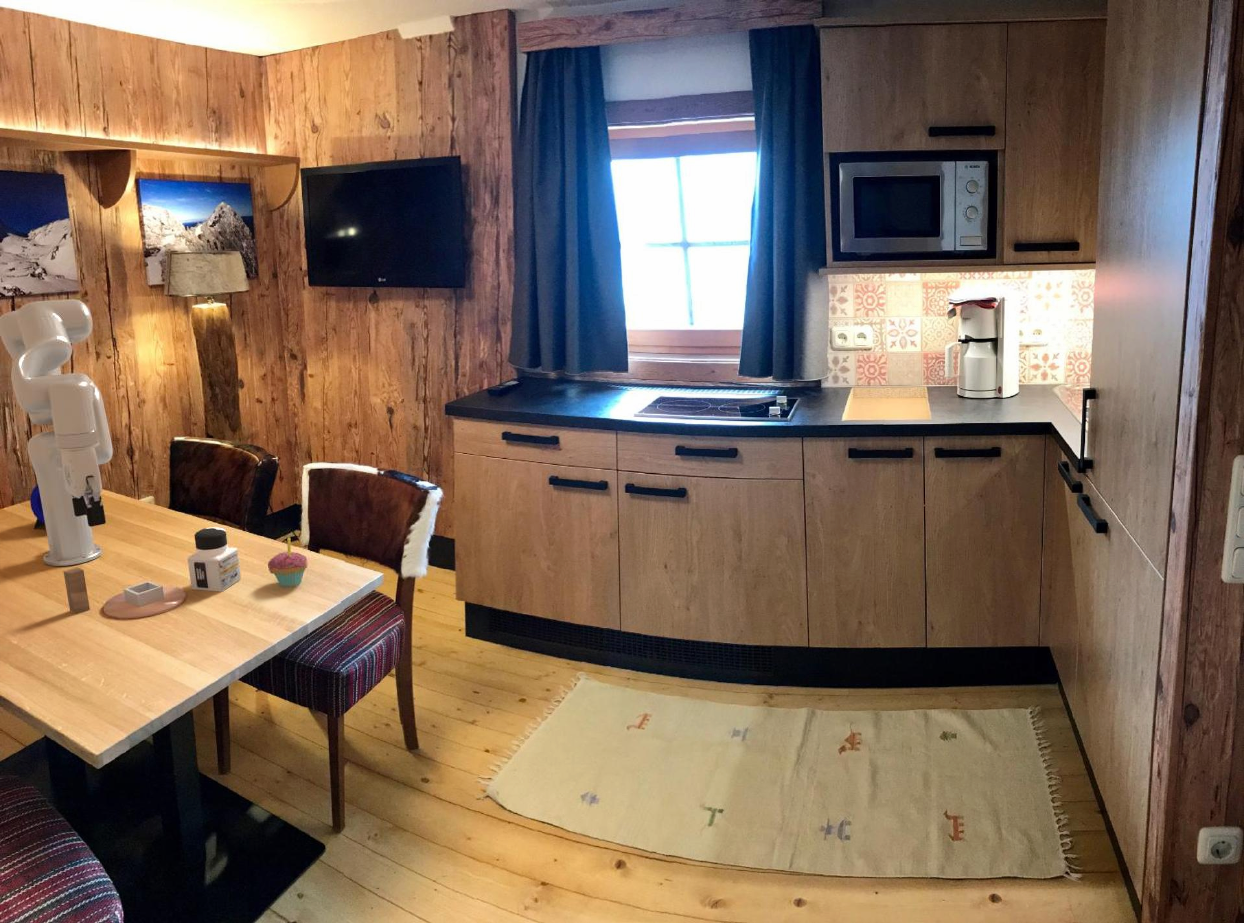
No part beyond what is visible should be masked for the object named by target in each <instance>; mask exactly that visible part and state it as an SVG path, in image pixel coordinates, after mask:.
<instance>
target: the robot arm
mask: <svg viewBox="0 0 1244 923" xmlns="http://www.w3.org/2000/svg"><path fill="white" fill-rule="evenodd" d="M93 326H94V325H93V317H92V312H91V310H90V309H89V308H88V306H87V305H86V304H85V303H84V302H83V301H81V300H80V299H75V298H69V299H67V298H66V299H54V300H53V299H51V300H38V301H31V302H28V303H26V304H23V305H22V306H21V307H20V308H19V309H18V310H17V309H16V310H12V311H8V312H6V313H3V314H2V315H0V339H1V342H2V343H3V345H4V347H5V349H6V351H7V353H9V355H10V357H11V358H12V360H13V361H14V362H13V365H12V368H11V374H10V375H11V379H10V380H11V384H12V388H13V392H14V395H15V398H16V402H17V403H18V405H19V408H20V409H21V410H22V411H24V413H27V414H28V418H29V419H30V421H31V422H32V423H33V424H35V425H38V426H51V425H52V426H53V430H47V431H42V432H39V433H37V434H35V435H33V436H32V437H31V438H30V439H29V440H28V441H27V442H28V443H27V452H28V456H29V459H30V462H31V464H32V467H33V471H34V473H35V477H36V482H37V484H38V486H39V491H40V497H41V502H42V508H43V514H44V520H45V532H46V536H47V543H48V548H49V551H48V552H47V553H45V555H44V556H43V559H42V560H43V562H44V564H46V565H49V566H55V567H59V566H60V567H61V566H63V567H65V566H73V565H78V564H83V563H88V562H90V561H93V560H94V559H97V558H98V557H99V558H100V557H101V555H102V554H103V548H102V547H101V546H100V545H97V544H95V542H94V541H95V540H94V536H93V527H97V526H101V525H105V524H106V523H107V522H106V515H105V509H104V508H105V507H104V502H103V499H102V496H101V494H102V491H103V487H102V486H103V485H102V478H101V477H102V476H101V473H100V467H99V465H103V464H107V463H109V462H110V461H111V460H112V458H113V453H114V452H113V451H114V449H113V442H112V438H111V432H110V428H109V423H108V419H107V417H108V416H107V413H106V409H105V404H104V399H103V395H102V393H101V391H100V389H99V387H98V386H97V385H96V384H95V382H94V381H93V380H92V379H91V378H90V377H89V376H88V375H87V374H85V373H81V372H73V373H63V374H62V369H61V366H63V365H64V364H66V363H67V362H68V361H69V360H70V359H71V356H72V352H73V347H72V344H76V343H81V342H84V341H85V340H86V339H88V337H89V336H90V335H91V334H92V331H93ZM87 492H89V493H87ZM89 497H91V498H89Z"/></svg>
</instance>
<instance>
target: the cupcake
mask: <svg viewBox="0 0 1244 923" xmlns="http://www.w3.org/2000/svg"><path fill="white" fill-rule="evenodd" d="M291 543H292V542H291V537H290V534H288V537H287V551H285V552H279V553H278V554H276V555H274V556H273V557H272V558H271V559H270V560H269V561H268V562H267V563H268V564H267V568H268V571H269V573H270V574H273V575H274V576H275V578H276V580H277V582H278V584H279V586H280V587H284V588H290V587H296V586H299V585H300V584H301V583H302V580H303V577H304V573H305V571H306V569H307V568H308V564H309V563H308V559H307V557H306V556H305V555H303V554H301V553H298V552H293V551H292V552H291V550H292V548H291V546H292V545H291Z"/></svg>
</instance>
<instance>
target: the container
mask: <svg viewBox="0 0 1244 923" xmlns="http://www.w3.org/2000/svg"><path fill="white" fill-rule="evenodd" d="M227 537H228V536H227V531H226V530H225V529H224V528H222V527H218V526H212V527H205V528H202V529H200V530H198V531H197V532H195V534H194V541H195V542H194V544H195V551H196V552H195V553H193V554H191V555H190V556H188V557H187V564H188V571H189V581H190V587H191V589H192V590H196V591H205V592H206V591H209V592H218V593H219V592H220V593H221V592H224V591H225V590H227V589H228V588H229V587H231V586H232V585H234V584H236V583H237V582H238V581H241V578H242V576H241V569H240V561H239V560H240V559H239V550H238V548H237V547H229V544H228V538H227Z"/></svg>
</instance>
